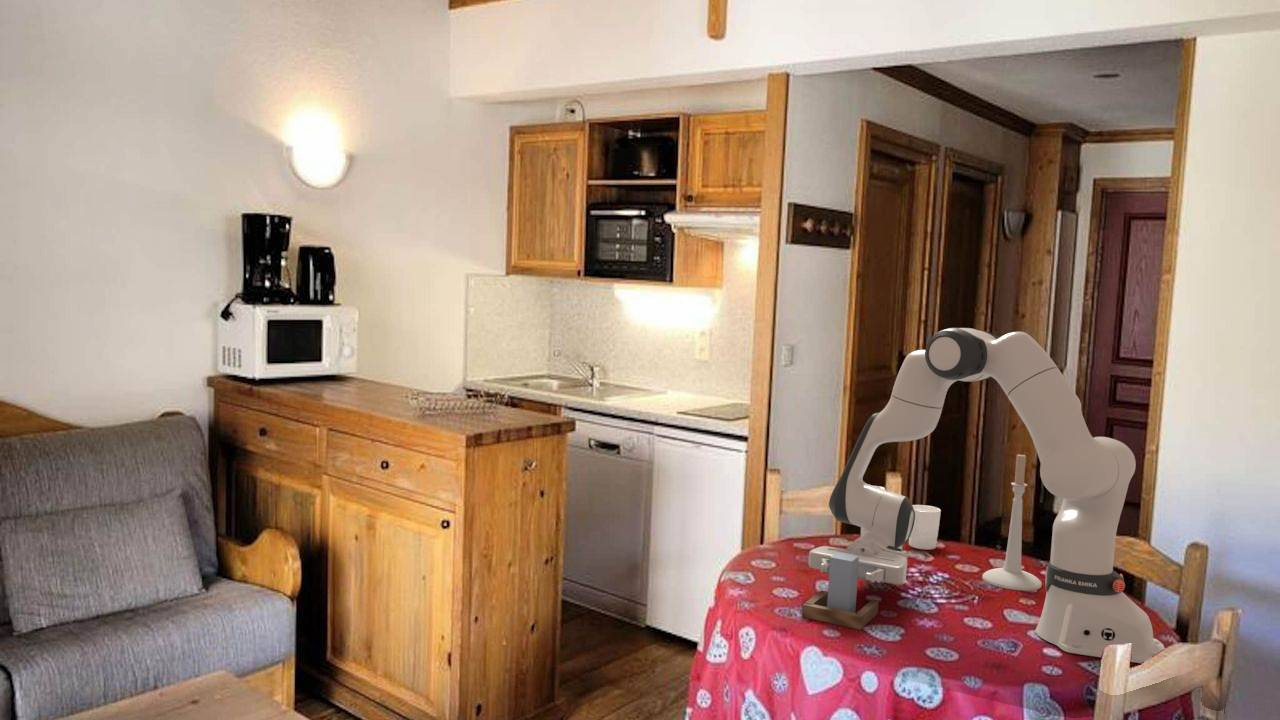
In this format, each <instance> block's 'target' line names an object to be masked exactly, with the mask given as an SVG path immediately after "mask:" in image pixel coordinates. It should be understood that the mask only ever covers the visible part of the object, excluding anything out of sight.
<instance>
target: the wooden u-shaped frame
mask: <svg viewBox="0 0 1280 720" xmlns="http://www.w3.org/2000/svg"><path fill="white" fill-rule="evenodd" d="M827 600H828V590H827V591H826V590H823V589H822V590H820V591H819V592H818V593H816V594H815V595H813V596H812V597H811V598H809V599H808V600H807V601H805V602H804V603H803V604H802V608H801V609H802V610H801V611H802V612H801V613H802V614H801V618H804V619H805V618H806V619H811V620H815V621H820V622H824V623H827V624H828V623H829V624H833V625H837V626H842V627H847V628H852V629H856V630H859V631H860V630H862V629H864V627H865V626H866V625H867V624H868V623H870V621H872V620H873V619H874V618H875V617H876V616H877V615H878V614H879V612H878V611H879V601H876V600H870V601H868V603H867V604H865V605H864V606H862V608H861V609H860V610H858V611H857V612H855V613H852V612H847V611H843V610H838V609H833V608H829V607H827Z"/></svg>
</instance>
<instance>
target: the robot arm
mask: <svg viewBox="0 0 1280 720" xmlns="http://www.w3.org/2000/svg"><path fill="white" fill-rule="evenodd" d="M990 379H994V380H995V381H996V382H997V383H998V385H1000V387H1001V390H1003V392H1004V394H1005V396H1006V397H1007V399H1008V400H1009V401H1010V404H1012V406H1013V408H1014V410H1015V412H1016V413H1017V415H1018V416H1019V417H1020V419H1021V421H1022V422H1023V424H1024V425H1025V427H1026V430H1027V431H1028V432H1029V435H1030V438H1031V440H1032V441H1033V442H1032V443H1033V446H1034V448H1035V451H1036V454H1037V456H1038V459H1039V462H1040V466H1039V467H1040V468H1039V473H1040V479H1041V482H1042V484H1043V486H1044V487H1045V488H1046V490H1047V491H1048V492H1049V493H1051V494H1052V495H1053V496H1055V497H1057V498H1060V499H1063V501H1062V503H1061V506H1060V509H1059V511H1058V513H1057V515H1056V517H1055V519H1054V520H1053V521H1054V522H1053V524H1052V536H1051V547H1050V560H1049V561H1048V563H1047V567H1046V571H1045V582H1044V583H1045V585H1044V586H1045V590H1046V593H1045V599H1044V604H1043V608H1042V611H1041V615H1040V618H1039V621H1038V623H1037V625H1036V628H1035V633H1036V634H1037V636H1038V637H1039V638H1041V639H1043V640H1045V642H1048V643H1051V644H1053V645H1055V646H1057V647H1058V648H1059V649H1061V650H1062V651H1064V652H1066V653H1070V654H1077V655H1082V656H1088V657H1097V658H1102V657H1101V655H1102V651H1103V649H1104V648H1105V647H1106V646H1108V645H1111V644H1122V643H1132V659H1131V662H1130V663H1135V664H1136V663H1137V664H1142V662H1143V661H1145V660H1147V659H1149V658H1151V657H1152V656H1154V655H1155V654H1157V653H1158V652H1160V651H1161V650H1163V649H1165V648H1166V647H1165V646H1164V644H1163V643H1162V642H1161V641H1160V640H1159V639H1157V638H1154V631H1153V626H1152V622H1151V620H1150V617H1149V616H1148V614H1147V613H1146V612H1145V611H1144V610H1143V609H1142V608H1140V606H1138V605H1137V604H1136V603H1135V602H1134V601H1133V600H1131V598H1130V597H1128V596H1127V595H1126V594H1125V593H1124V592H1123V591H1125V588H1126V584H1125V578H1124V575H1123V574H1122V573H1120V574H1119V573H1118V572H1117V571H1115V570H1114V560H1115V551H1116V550H1115V549H1116V537H1117V531H1118V525H1119V523H1120V518H1121V515H1122V511H1123V508H1124V504H1125V502H1126V501H1125V500H1126V496H1127V493H1128V489H1129V486H1130V485H1129V484H1130V482H1131V479H1132V477H1133V476H1134V474H1135V471H1136V465H1137V464H1136V463H1137V462H1136V458H1135V457H1136V456H1135V455H1134V453H1133V451H1132V450H1131V448H1129V446H1127V444H1125V443H1123V442H1122V441H1120V440H1118V439H1115V438H1111V437H1107V436H1095V437H1093V435H1092V434H1091V432H1090V430H1089V428H1088V426H1087V424H1086V421H1085V418H1084V415H1083V411H1082V403H1081V400H1080V397H1078V395H1077V394H1076V392H1075V391H1074V390H1073V388H1072V386H1071V385H1070V383H1069V382H1068V381H1067V379H1066V378H1065V376H1064V375H1063V373H1062V372H1061V370H1060V369H1059V367H1058V366H1057V364H1056V363H1055V362H1054V361H1053V359H1052V357H1051V356H1050V355H1049V354H1048V353H1047V352H1046V351H1045V349H1044V348H1043V347H1042V346H1041V345H1040V343H1038V342H1037V341H1036V340H1035V338H1033V337H1032V336H1031V335H1030V334H1028V333H1027V332H1025V331H1012V332H1008V333H1006V334H1003V335H1001V336H998V335H996V334H994V333H992V332H989V331H986V330H978V329H975V328H970V327H949V328H946V329H942V330H940V331H938V332H935V333H934V334H933V335H932V336H931V337H930V338H929V340H928V341H927V343H926V346H925V349H917V350H914V351H911V352H909V353H908V354H907V356H906V357H905V358H904V360H903V362H902V365H901V366H900V369H899V371H898V373H897V376H896V379H895V381H894V385H893V388H892V390H891V391H892V392H891V395H890V399H889V400H888V402H887V404H886V405H885V407H884V408H883V409H882V410H881V411H880V412H875V413H873V414H872V415H871V416H870V417H869V418H868V420H867V421H866V423H865V425H864V426H863V428H862V430H861V432H860V435H859V436H858V439H857V441H856V442H855V445H854V447H853V450H852V451H851V454H850V456H849V457H848V460H847V463H846V464H845V467H844V469H843V471H842V473H841V475H840V477H839V479H838V480H837V483H836V484H835V485H834V487H833V489H832V491H831V494H830V496H829V500H828V508H829V510H830V512H831V514H832V515H833V516H834V518H835V519H836V521H837V522H841V523H844V524H847V525H848V524H849V525H854V526H857V527H860V528H861V527H862V528H865V529H867V530H870V531H869V532H867V533H865V534H864V535H863V536H862V537H861V536H860V537H858V538H856V539H855V540H853V541H852V542H851V543H850V544H849V545H848V546H847V547H846V548H841V547H836V546H829V545H823V546H819V547H815V548H813V549H811V550H809V553H808V560H807V561H808V563H807V564H808V566H809V568H811V569H815V570H820V574H828V575H829V567H830V557H831V556H833V555H834V554H836V553H837V552H838V553H844V554H849V555H855V556H859V564H858V579H859V580H861V581H865V582H869V583H875V582H882V583H886V584H890V585H891V584H893V585H898V586H899V585H900V586H901V585H904V584H905V583H906V579H907V570H908V552H907V551H906V550H904V549H903V546H904V545H905V544H906V543H908V542H909V537H910V535H911V532H912V530H913V526H914V521H915V511H914V508H913V506H912V505H913V503H912V501H911V500H910V499H909V498H908V496H904V495H902V494H899V493H897V492H893V491H891V490H886V489H885V490H884V489H881V488H878V487H875V486H876V485H871V484H870V483H869V484H868V483H866V482H865V481H864V480H863V478H864V475H865V474H866V471H867V469H868V466H869V464H870V462H871V460H872V457H873V456H874V453H875V452H876V449H877V448H878V447H879V446H881V445H882V444H886V443H894V442H895V443H898V442H911V441H912V442H913V441H915V440H921V439H922V438H925V437H927V436H928V435H930V434H931V433H933V432H934V431H935V429H936V428H937V426H938V423H939V422H940V421H939V420H940V418H941V415H942V411H943V407H944V404H945V399H946V395H947V392H948V390H949V388H951V385H953V384H955V382H957V381H961V382H965V383H966V382H967V383H968V382H970V383H971V382H982V381H983V382H984V381H987V380H990ZM858 579H857V580H858ZM1165 650H1166V649H1165Z"/></svg>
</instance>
